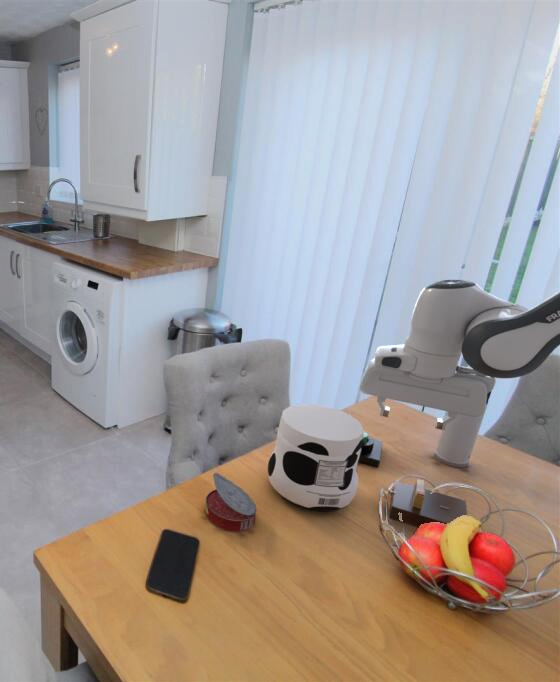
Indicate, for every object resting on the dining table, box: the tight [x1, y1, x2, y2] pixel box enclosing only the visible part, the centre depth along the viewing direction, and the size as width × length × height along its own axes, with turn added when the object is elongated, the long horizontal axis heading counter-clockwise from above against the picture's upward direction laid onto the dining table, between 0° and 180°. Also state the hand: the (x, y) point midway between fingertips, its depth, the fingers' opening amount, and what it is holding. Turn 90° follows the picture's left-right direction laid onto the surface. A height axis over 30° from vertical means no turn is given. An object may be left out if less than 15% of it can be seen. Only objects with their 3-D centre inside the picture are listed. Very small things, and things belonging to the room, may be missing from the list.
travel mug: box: [433, 390, 493, 469], centre depth 112 cm, size 6×7×20 cm
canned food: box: [204, 472, 257, 533], centre depth 100 cm, size 11×10×10 cm
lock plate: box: [388, 480, 468, 528], centre depth 98 cm, size 13×10×3 cm
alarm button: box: [363, 430, 369, 443], centre depth 118 cm, size 4×4×2 cm
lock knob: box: [413, 478, 426, 509], centre depth 98 cm, size 6×1×3 cm, turn 144°
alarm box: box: [358, 434, 383, 469], centre depth 119 cm, size 10×10×4 cm
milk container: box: [267, 403, 364, 512], centre depth 103 cm, size 17×17×18 cm
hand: (410, 421), depth 99 cm, fingers open, 8 cm apart
